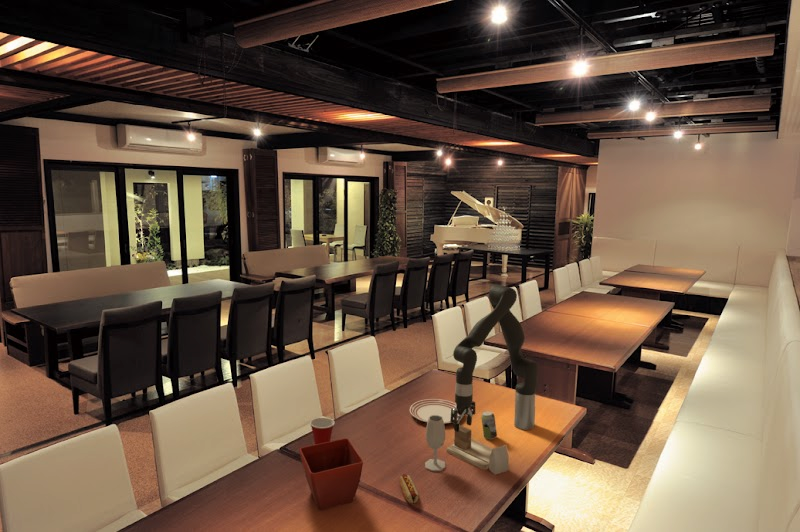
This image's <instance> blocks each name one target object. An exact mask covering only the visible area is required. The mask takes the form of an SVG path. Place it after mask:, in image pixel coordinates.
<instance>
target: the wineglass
mask: <svg viewBox="0 0 800 532" xmlns="http://www.w3.org/2000/svg"><path fill="white" fill-rule="evenodd" d="M425 439H426V442H427V446H428V447H429V448H431V449H432V450H433V458H429V459H428V460H427V461H425V462H424V466H425V467H424V468H425V469H426V470H428V471H430V472H442V471H443V470H444V469H446V462H445V461H443V460H442V459H439V458H438V450H439V449H440V448H442V447H443V446H444V444H445V442H446V441H445V440H446V428H445V424H444V421H443V417H442V416H439V415H432V416H430V417H429V418H428V421H427V422H426V427H425Z"/></svg>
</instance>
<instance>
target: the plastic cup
mask: <svg viewBox="0 0 800 532" xmlns="http://www.w3.org/2000/svg"><path fill="white" fill-rule="evenodd" d="M309 425H310V427H311V431H312V436H313V441H314V445H316V444H320V443H325V442H330V441H332V440H331V439H332V434H333V428H334V425H335V420H333V419H332V418H328V417H317V418H316V417H315V418H313V419H310V422H309Z"/></svg>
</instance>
